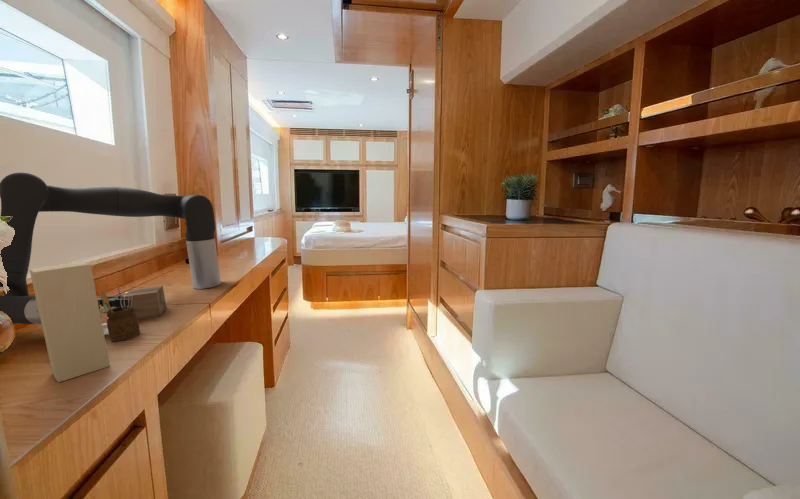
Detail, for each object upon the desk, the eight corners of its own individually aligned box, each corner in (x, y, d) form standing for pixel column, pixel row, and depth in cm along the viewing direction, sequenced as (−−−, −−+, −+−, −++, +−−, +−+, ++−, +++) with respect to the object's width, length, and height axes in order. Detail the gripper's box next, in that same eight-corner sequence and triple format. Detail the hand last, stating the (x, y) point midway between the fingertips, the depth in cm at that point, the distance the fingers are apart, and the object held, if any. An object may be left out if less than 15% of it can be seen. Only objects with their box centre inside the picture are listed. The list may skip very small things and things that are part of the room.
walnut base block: (134, 312, 105) (130, 289, 103) (166, 307, 108) (163, 285, 107) (125, 321, 97) (121, 297, 96) (161, 316, 100) (156, 292, 99)
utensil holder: (133, 339, 85) (124, 291, 82) (102, 343, 83) (92, 294, 81) (145, 330, 90) (136, 284, 88) (116, 333, 89) (107, 287, 87)
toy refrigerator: (102, 356, 76) (82, 260, 73) (111, 365, 72) (90, 263, 68) (51, 372, 70) (27, 268, 67) (57, 383, 66) (31, 272, 62)
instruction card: (93, 325, 95) (93, 324, 95) (125, 320, 98) (125, 319, 98) (77, 339, 86) (77, 338, 86) (112, 333, 89) (112, 332, 89)
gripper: (19, 304, 80) (82, 303, 78) (82, 286, 94) (137, 285, 92) (26, 335, 81) (89, 336, 79) (87, 313, 95) (142, 313, 93)
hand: (114, 309), depth 86 cm, fingers open, 8 cm apart
